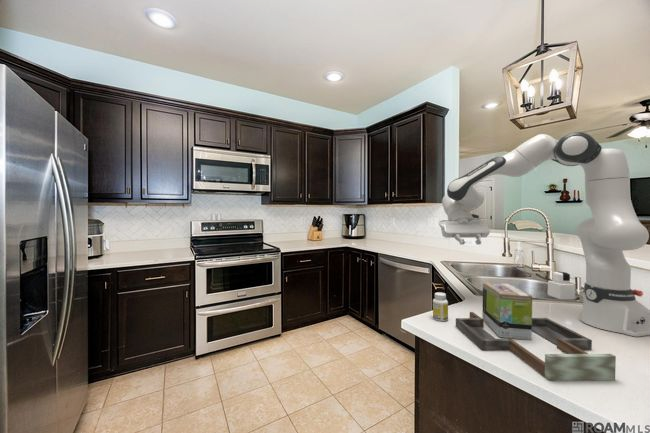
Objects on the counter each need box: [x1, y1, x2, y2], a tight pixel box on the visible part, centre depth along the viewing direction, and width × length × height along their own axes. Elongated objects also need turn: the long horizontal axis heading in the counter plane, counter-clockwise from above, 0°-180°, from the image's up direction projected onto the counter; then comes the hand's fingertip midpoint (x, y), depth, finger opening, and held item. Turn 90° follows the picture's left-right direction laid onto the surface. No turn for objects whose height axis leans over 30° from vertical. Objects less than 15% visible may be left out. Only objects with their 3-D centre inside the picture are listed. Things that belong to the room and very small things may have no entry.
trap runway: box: [455, 311, 617, 382], centre depth 83 cm, size 33×36×6 cm
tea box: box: [481, 282, 533, 341], centre depth 93 cm, size 15×10×15 cm, turn 168°
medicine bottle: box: [547, 271, 576, 301], centre depth 126 cm, size 7×7×12 cm
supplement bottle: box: [432, 292, 449, 322], centre depth 103 cm, size 5×5×10 cm
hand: (471, 243), depth 115 cm, fingers open, 6 cm apart
